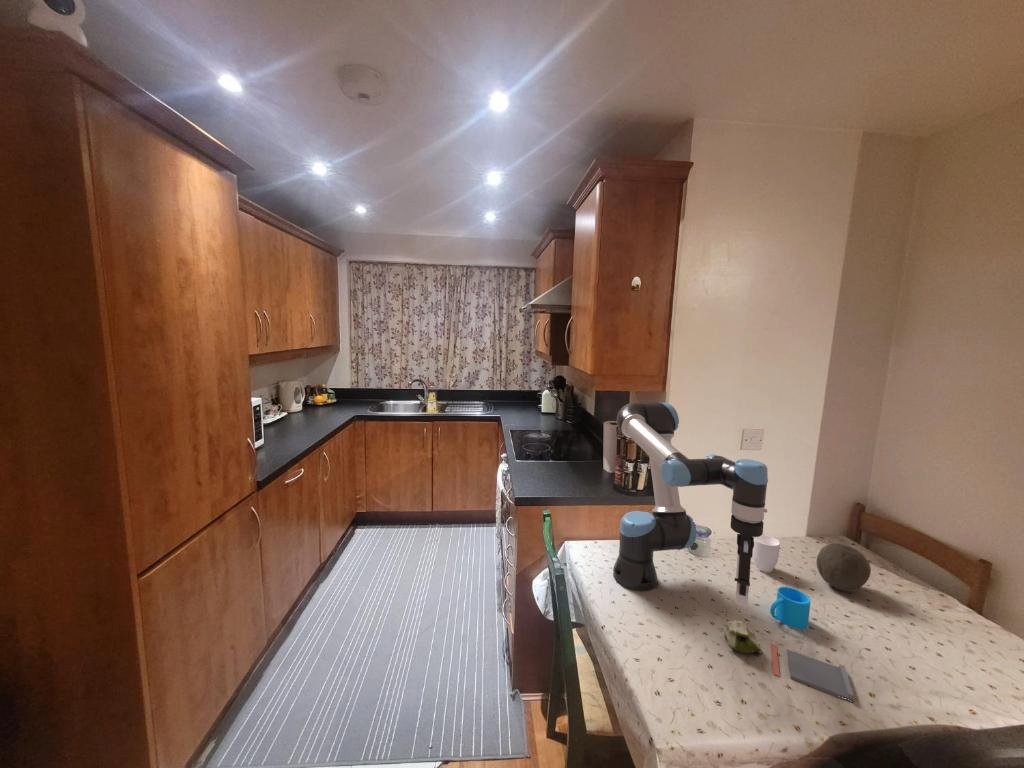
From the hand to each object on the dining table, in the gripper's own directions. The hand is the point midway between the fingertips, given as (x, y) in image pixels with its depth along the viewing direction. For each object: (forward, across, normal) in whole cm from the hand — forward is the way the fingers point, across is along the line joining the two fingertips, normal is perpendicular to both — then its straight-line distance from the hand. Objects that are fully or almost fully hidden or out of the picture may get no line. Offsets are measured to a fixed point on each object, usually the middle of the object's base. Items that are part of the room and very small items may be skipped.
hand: (741, 590), depth 104 cm
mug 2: (+17, +20, -13) cm, 29 cm away
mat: (+16, 0, -18) cm, 24 cm away
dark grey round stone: (+16, +51, -31) cm, 62 cm away
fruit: (+17, 0, -1) cm, 17 cm away
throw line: (+16, 0, -9) cm, 19 cm away
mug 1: (+16, +50, -7) cm, 53 cm away
